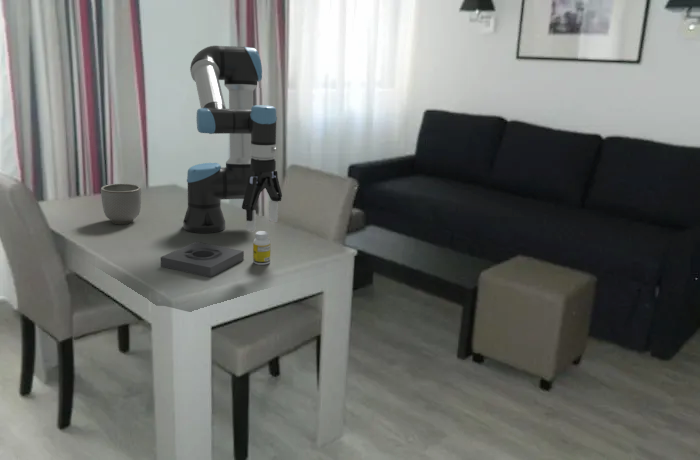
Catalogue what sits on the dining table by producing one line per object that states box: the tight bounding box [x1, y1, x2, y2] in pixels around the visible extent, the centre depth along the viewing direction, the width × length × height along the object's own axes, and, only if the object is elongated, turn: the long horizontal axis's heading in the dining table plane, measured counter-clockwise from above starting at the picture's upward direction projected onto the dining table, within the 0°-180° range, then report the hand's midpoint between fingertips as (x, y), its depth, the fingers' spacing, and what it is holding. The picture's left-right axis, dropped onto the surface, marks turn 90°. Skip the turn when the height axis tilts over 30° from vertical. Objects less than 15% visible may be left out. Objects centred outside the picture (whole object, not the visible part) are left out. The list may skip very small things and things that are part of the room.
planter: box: [100, 183, 142, 225], centre depth 236 cm, size 14×14×13 cm
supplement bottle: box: [252, 230, 271, 266], centre depth 202 cm, size 5×5×10 cm
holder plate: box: [160, 241, 245, 278], centre depth 199 cm, size 18×18×3 cm
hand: (262, 225), depth 199 cm, fingers open, 13 cm apart
